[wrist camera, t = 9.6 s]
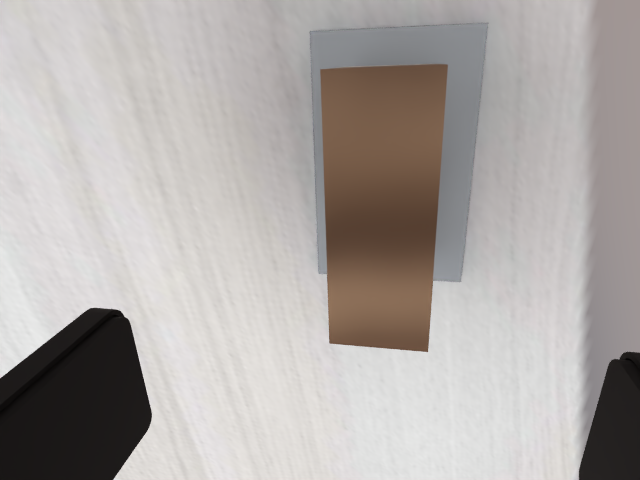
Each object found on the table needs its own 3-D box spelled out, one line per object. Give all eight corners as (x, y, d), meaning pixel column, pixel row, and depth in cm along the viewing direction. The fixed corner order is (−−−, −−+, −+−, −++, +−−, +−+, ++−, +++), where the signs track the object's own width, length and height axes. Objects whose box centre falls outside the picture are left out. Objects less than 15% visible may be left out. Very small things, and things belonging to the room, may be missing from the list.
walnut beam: (340, 67, 20) (320, 69, 16) (439, 63, 19) (447, 64, 15) (344, 291, 25) (329, 343, 20) (424, 296, 24) (428, 351, 19)
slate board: (313, 32, 26) (310, 31, 25) (485, 24, 24) (488, 22, 24) (321, 267, 32) (318, 273, 31) (459, 275, 30) (460, 282, 30)
